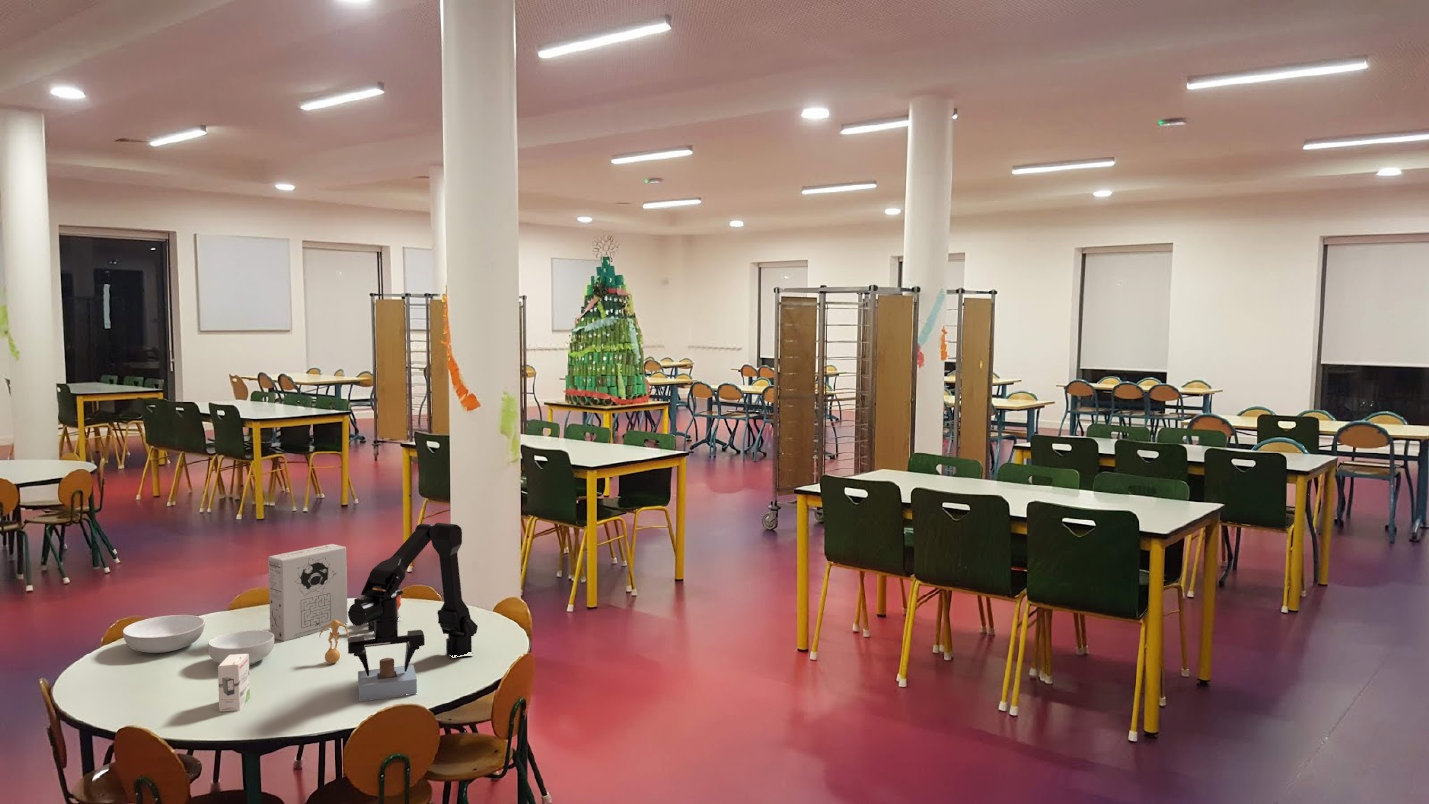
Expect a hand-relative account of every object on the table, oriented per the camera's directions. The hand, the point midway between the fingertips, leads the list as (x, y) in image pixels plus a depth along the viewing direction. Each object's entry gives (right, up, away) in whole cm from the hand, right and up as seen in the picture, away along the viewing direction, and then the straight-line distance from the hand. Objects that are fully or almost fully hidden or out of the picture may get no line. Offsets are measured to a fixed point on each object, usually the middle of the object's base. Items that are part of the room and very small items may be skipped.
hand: (386, 673), depth 248 cm
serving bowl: (-76, -2, +31) cm, 81 cm away
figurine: (-22, -3, +21) cm, 30 cm away
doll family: (-20, 0, +51) cm, 55 cm away
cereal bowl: (-47, -3, +19) cm, 51 cm away
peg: (0, -5, 0) cm, 4 cm away
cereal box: (-40, 0, +48) cm, 63 cm away
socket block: (0, -4, 0) cm, 4 cm away
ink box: (-35, -5, -10) cm, 36 cm away
